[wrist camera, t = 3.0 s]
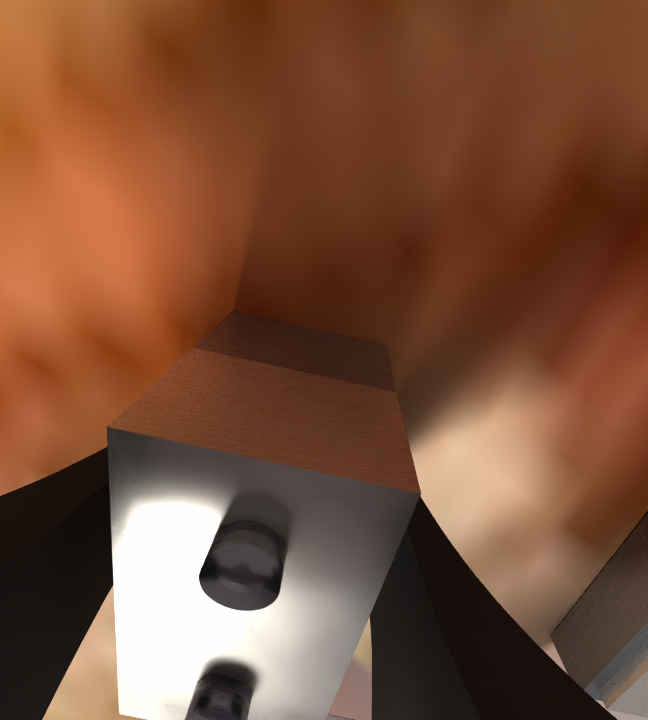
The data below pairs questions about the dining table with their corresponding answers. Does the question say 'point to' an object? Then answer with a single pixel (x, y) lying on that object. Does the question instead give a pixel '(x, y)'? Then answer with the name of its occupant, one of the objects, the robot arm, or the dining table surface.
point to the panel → (612, 631)
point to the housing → (254, 521)
